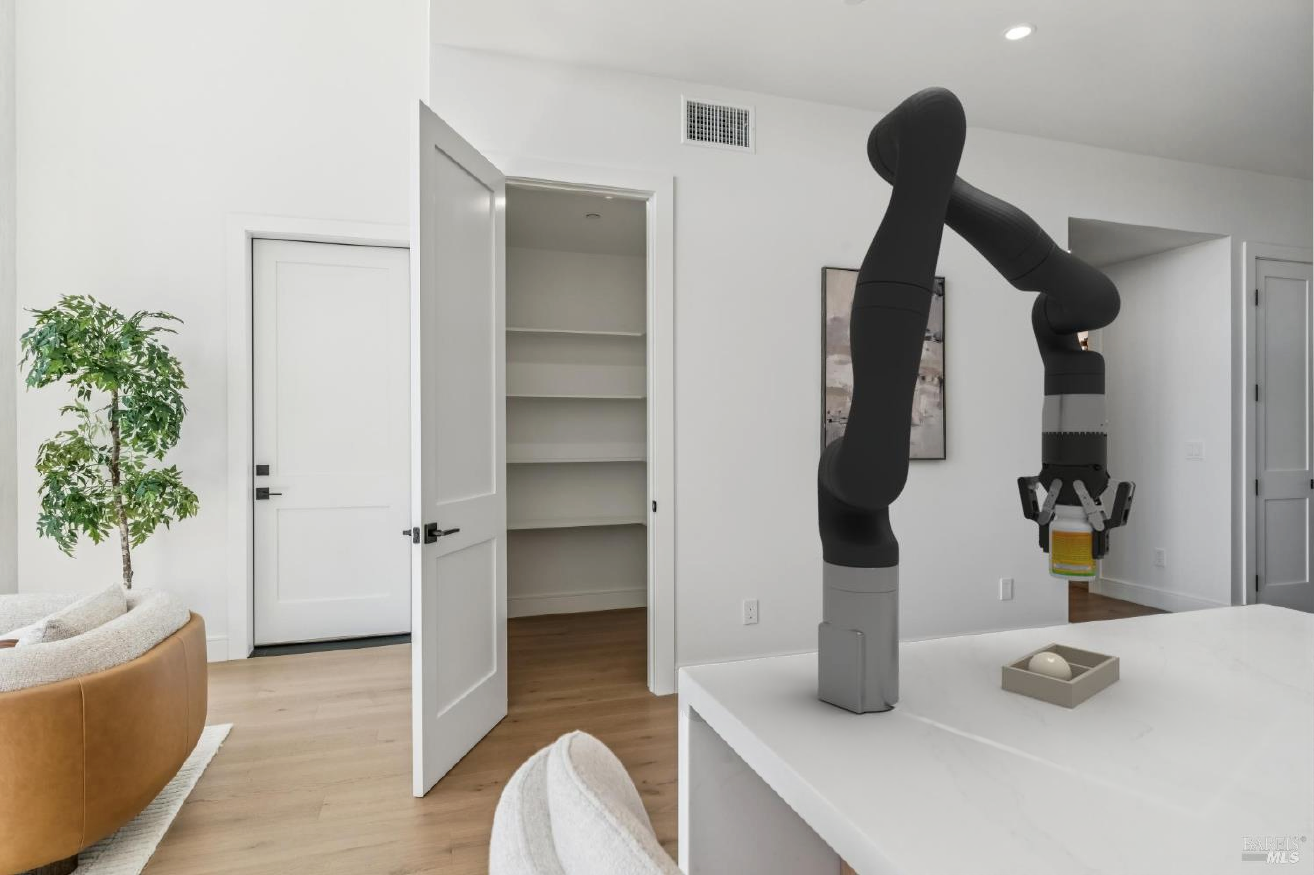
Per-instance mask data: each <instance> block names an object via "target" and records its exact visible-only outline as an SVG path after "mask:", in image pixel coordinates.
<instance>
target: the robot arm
mask: <svg viewBox="0 0 1314 875" xmlns="http://www.w3.org/2000/svg"><path fill="white" fill-rule="evenodd" d="M964 109H965V108H964V107H963V104H962V102H961V101H960V99H959V98H958V97H957V95H956V94H955V93H953V92H952V91H951V89H950V90H949V89H948V88H946V87H942V86H931V87H930V86H929V87H926V88H924V89H921V90H919V91H917V92H916V93H914V94H912V95H910V96H908V97H907V98H906V99H905V100H903V101H902V102H901V103H900V104H898V105H897V106H896V107H895V108H894V109H893V110H891V111H890V112H888V113H887V114H885V116H884V117H882V118H881V119H880V120H879V121H878V122H877V123H876V124H875V125H874V126H873V128H872V129H871V131H870V133H869V135H868V138H867V144H866V153H867V158H868V162H869V164H870V166H871V167H872V169H873V170H874V172H875V173H876V174H877V175H878V176H879V177H880V178H881V179H882V180H884V181H885V182H886V183H888V184H889V185H890V186H892V191H891V195H890V199H889V202H888V205H887V207H886V210H885V213H884V216H883V218H882V219H881V222H880V224H879V226H878V228H877V230H876V232H875V234H874V235H873V238H872V240H871V243H870V244H869V247H868V249H867V251H866V253H865V255H864V258H863V261H862V263H861V266H860V268H859V271H858V274H857V278H856V281H855V282H856V283H855V287H854V294H853V298H852V306H851V311H850V317H849V318H850V319H849V347H850V348H849V350H850V358H851V359H850V360H851V369H852V378H853V379H852V383H853V384H852V396H851V402H850V403H851V404H850V407H849V412H848V416H847V421H846V424H845V428H844V433H843V435H841V436H838V437H837V438H835V439H834V440H832V441H831V442H829V443H828V445H827V446H826V447H825V448H824V450H823V451H822V453H821V456H820V457H819V460H818V464H817V465H818V468H817V482H816V483H817V514H818V515H817V516H818V518H817V519H818V521H817V522H818V524H817V525H818V533H819V537H820V541H821V545H822V546H821V547H822V622H819V623H818V627H817V632H818V633H817V634H818V635H817V640H818V641H817V643H818V644H817V646H818V648H817V653H818V654H817V661H818V662H817V667H818V669H817V677H818V678H817V687H818V688H817V692H818V693H817V694H818V695H817V697H818V699H819V700H822V701H824V702H827V703H829V704H833V705H835V706H837V707H840V708H843V709H845V710H848V711H851V712H854V713H856V714H857V713H858V714H861V713H864V712H865V713H866V712H881V711H887V710H891V709H893V708H895V706H893V705H895V704H897V703H898V702H899V700H900V544H899V542H898V539H897V538H896V535H895V534H894V531H893V529H892V524H891V521H890V505H892V504H893V503H895V501H896V500H897V499H898V498H899V497H900V495H901V494H902V492H903V490H904V489H905V486H906V483H907V480H908V476H909V469H910V457H911V456H910V455H911V454H910V453H911V452H910V451H911V430H912V419H913V418H912V417H913V405H914V397H915V391H916V388H917V386H916V385H917V381H918V376H919V372H920V366H921V363H922V362H921V361H922V355H923V350H924V344H925V339H926V334H927V329H928V323H929V318H930V313H931V307H932V300H933V295H934V287H935V278H936V271H937V266H938V259H939V256H940V251H941V244H942V238H943V233H944V227H945V225H946V226H947V227H949V229H951V230H952V231H954V233H957V234H958V236H960V237H961V238H963V239H964V240H965V241H966V242H967V243H968V244H969V245H970V246H972V247H973V249H975V250H976V251H977V252H978V253H979V254H980V255H981V256H983V257H984V259H985V260H986V261H987V262H988V263H989V264H990V265H991V266H992V267H993V268H994V269H995V270H996V271H997V272H998V273H999V274H1000V275H1001V276H1002V277H1003V278H1004V279H1005V280H1006V281H1007V282H1008V283H1009V284H1010V285H1011V286H1012V287H1013V288H1015V289H1016V290H1018V291H1020V292H1035V293H1039V294H1038V295H1037V297H1036V298H1035V300H1034V302H1033V305H1032V310H1031V316H1030V317H1031V325H1032V330H1033V334H1034V337H1035V339H1036V340H1035V341H1036V344H1037V348H1038V351H1039V354H1040V357H1041V359H1042V364H1043V368H1044V370H1043V374H1044V375H1043V377H1044V378H1043V404H1042V410H1041V470H1040V471H1039V473H1038V475H1034V476H1029V475H1028V476H1027V475H1026V476H1025V475H1024V476H1020V477H1018V478H1017V480H1016V483H1017V486H1018V492H1019V497H1020V502H1021V503H1020V504H1021V508H1022V511H1023V517H1024V518H1025V519H1026V520H1031V521H1032V522H1034V523H1037V526H1038V545H1039V548H1040V549H1042V552H1043V553H1045V554H1049V525H1050V523H1051V522H1052V521H1053V520H1056V519H1057V515H1055V505H1056V504H1061V505H1066V504H1073V505H1076V506H1083V507H1084V509H1085V511H1086V513H1087V514H1088V515H1089V518H1090V519H1089V520H1090V522H1091V523H1093V526H1094V528H1095V531H1092V558H1093V559H1096V561H1097V560H1100V561H1101V560H1103V559H1105V556H1108V555H1109V552H1110V531H1111V530H1112V529H1115V528H1119V527H1124V526H1126V525H1127V523H1128V520H1129V515H1130V512H1131V507H1132V504H1133V499H1134V495H1135V491H1136V483H1135V482H1134V481H1131V480H1130V481H1129V480H1126V481H1125V480H1124V481H1123V480H1120V479H1115V478H1112V477H1111V475H1110V474H1109V472H1108V429H1109V421H1108V408H1107V403H1106V395H1105V394H1106V362H1105V358H1104V356H1103V354H1101V353H1100V352H1098V351H1095V350H1089V349H1084V348H1083V347H1082V345H1081V341H1080V338H1079V333H1085V332H1092V331H1095V330H1100V329H1103V328H1105V327H1107V326H1110V325H1111V324H1112V323H1113V322H1114V321H1115V320H1116V318H1117V317H1118V316H1119V314H1120V311H1121V295H1120V293H1119V292H1120V291H1119V290H1118V289H1117V286H1116V285H1115V284H1114V282H1113V281H1112V280H1111V279H1110V278H1109V277H1108V276H1107V275H1106V274H1105V273H1104V272H1102V271H1100V270H1099V269H1098V268H1097V267H1095V266H1093V265H1091V264H1089V263H1088V262H1086V261H1084V260H1082V259H1081V258H1079V257H1078V256H1076V255H1074V254H1073V253H1070V252H1068V251H1066V250H1065V249H1064V248H1063V249H1062V248H1061V247H1060V246H1059V245H1058V244H1057V243H1056V241H1055V240H1054V239H1053V238H1052V237H1051V236H1050V235H1049V234H1048V233H1047V232H1046V231H1045V230H1044V229H1043V228H1042V227H1041V226H1040V224H1038V223H1037V222H1036V220H1034V219H1033V218H1032V217H1031V216H1030V215H1029V214H1027V213H1026V212H1024V211H1023V210H1022V209H1020V208H1019V207H1017V206H1015V205H1013V204H1012V203H1009V202H1008V201H1006V200H1003V199H1001V198H999V197H996V196H995V195H992V194H990V193H988V192H985V191H984V190H982V189H979V188H977V187H975V186H973V185H972V184H970V183H969V182H967V181H966V180H964V179H963V178H962V177H961V176H959V175H958V174H957V173H958V171H959V170H958V169H959V166H960V163H961V160H962V156H963V151H964V148H965V143H966V139H967V119H966V112H965V110H964ZM1040 485H1041V486H1042V487H1043V489H1044V490H1045V491H1046V493H1047V495H1046V497H1045V499H1044V501H1043V504H1042V506H1041V507H1042V509H1040V506H1039V505H1040V504H1039V500H1038V496H1037V491H1038V490H1039V489H1040V488H1039V486H1040ZM1107 488H1110V489H1111V495H1112V496H1113V497H1114V502H1113V505H1112V509H1111V514H1110V518H1109V517H1108V514H1107V512H1106V510H1107V509H1106V506H1105V504H1104V502H1103V500H1102V497H1101V495H1103V493H1104V492H1105V491H1106V490H1107ZM1040 510H1041V511H1040Z"/></svg>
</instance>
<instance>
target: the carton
mask: <svg viewBox="0 0 1314 875" xmlns="http://www.w3.org/2000/svg"><path fill="white" fill-rule="evenodd" d="M1042 652H1051V653H1055V654H1057V655H1059V656H1061V657H1062V658H1063V659H1065V661H1066V662H1067V663H1068V664H1069V666H1070V669H1071V673H1072V676H1071V681H1069V682H1068V681H1064V680H1060V679H1056V678H1053V677H1049V676H1045V675H1041V674H1037V673H1033V672H1029V671H1028V666H1029V662H1030V660H1031V659H1032V658H1033V657H1034V656H1035V655H1037V654H1039V653H1042ZM1120 664H1121V662H1120V657H1119V656H1117V655H1116V656H1115V655H1110V654H1105V653H1102V652H1101V653H1100V652H1096V651H1093V650H1088V649H1083V648H1078V647H1074V646H1070V645H1069V646H1068V645H1064V644H1060V643H1055V642H1052V643H1050V644H1048V645H1046V646H1043V647H1041V648H1039V649H1037V650H1034V651H1032V652H1030V653H1027V654H1025V655H1023V656H1021V657H1019V658H1017V659H1014V660H1012V661H1009V662H1007V663H1006V664H1003V665H1001V689H1002V690H1005V691H1008V692H1011V693H1014V694H1019V695H1022V696H1025V697H1029V698H1031V699H1034V700H1035V699H1036V700H1039V701H1043V702H1047V703H1048V704H1049V703H1050V704H1052V705H1056V706H1060V707H1065V708H1067V709H1071V710H1073V709H1075V708H1076V707H1077V706H1079V705H1080V704H1083V703H1084V702H1085V701H1087V700H1089V699H1090V698H1092V697H1093V696H1095V695H1097V694H1098V693H1100V692H1101V691H1103V690H1104V689H1106V688H1108V687H1110V686H1112V685H1113V684H1115V683H1117V682H1118V681H1120Z"/></svg>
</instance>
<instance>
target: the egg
mask: <svg viewBox="0 0 1314 875" xmlns="http://www.w3.org/2000/svg"><path fill="white" fill-rule="evenodd" d="M1028 671H1029V672H1033V673H1037V674H1041V675H1045V676H1049V677H1053V678H1056V679H1060V680H1064V681H1068V682H1069V681H1071V676H1072V673H1071V669H1070V666H1069V664H1068V663H1067V662H1066V661H1065V659H1063V658H1062V657H1061V656H1059V655H1057V654H1055V653H1051V652H1042V653H1039V654H1037V655H1035V656H1034V657H1033V658H1032V659H1031V660H1030V662H1029V666H1028Z"/></svg>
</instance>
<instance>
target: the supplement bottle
mask: <svg viewBox="0 0 1314 875" xmlns="http://www.w3.org/2000/svg"><path fill="white" fill-rule="evenodd" d="M1055 515H1057V516H1056V518H1055V520H1053V521H1052V522H1051V523H1050V525H1049V553H1048V575H1049V576H1050V577H1053V578H1055V579H1060V580H1065V581H1070V582H1091V581H1095V580H1096V577H1097V576H1096V575H1097V567H1096V566H1097V559H1093V558H1092V531H1095V528H1094V526H1093V523H1092V521H1089V520H1088V519H1089V518H1090V517H1089V515H1088V514H1087V513H1086V511H1085V509H1084V507H1083V506H1076V505H1073V504H1066V505H1061V504H1056V505H1055ZM1088 517H1089V518H1088Z"/></svg>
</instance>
